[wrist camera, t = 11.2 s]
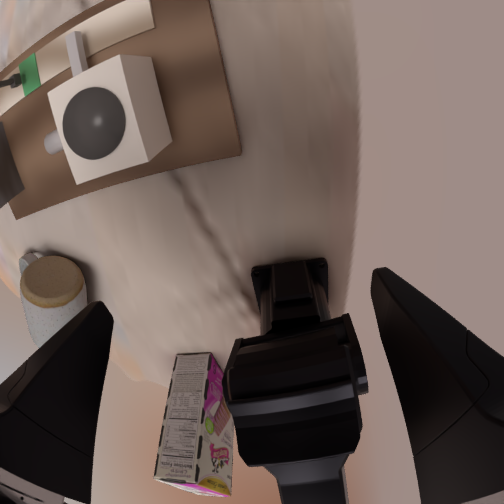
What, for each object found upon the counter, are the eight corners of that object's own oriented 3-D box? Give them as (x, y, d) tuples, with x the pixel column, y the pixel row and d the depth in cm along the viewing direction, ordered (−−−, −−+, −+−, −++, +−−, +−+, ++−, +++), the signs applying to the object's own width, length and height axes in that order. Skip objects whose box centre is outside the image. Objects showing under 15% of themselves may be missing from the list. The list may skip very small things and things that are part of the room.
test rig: (241, 151, 19) (234, 190, 13) (21, 215, 21) (-20, 255, 16) (202, -31, 11) (175, -73, 5) (-18, 95, 13) (-69, 116, 8)
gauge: (172, 141, 17) (147, 162, 13) (79, 171, 18) (43, 198, 14) (140, 6, 11) (106, -9, 7) (47, 56, 12) (4, 61, 8)
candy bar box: (238, 392, 38) (233, 497, 24) (206, 393, 39) (195, 494, 25) (212, 350, 32) (197, 487, 18) (174, 352, 32) (149, 479, 19)
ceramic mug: (97, 263, 25) (60, 320, 18) (100, 315, 29) (74, 368, 23) (21, 233, 23) (-21, 277, 17) (32, 286, 27) (1, 329, 21)
